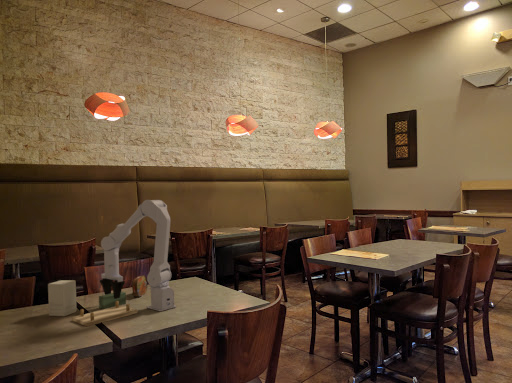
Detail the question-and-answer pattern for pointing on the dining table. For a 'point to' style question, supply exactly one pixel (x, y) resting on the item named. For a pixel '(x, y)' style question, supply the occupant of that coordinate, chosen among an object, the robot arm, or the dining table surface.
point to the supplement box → (62, 297)
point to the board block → (111, 300)
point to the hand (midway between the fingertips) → (112, 296)
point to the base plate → (104, 314)
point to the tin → (139, 286)
